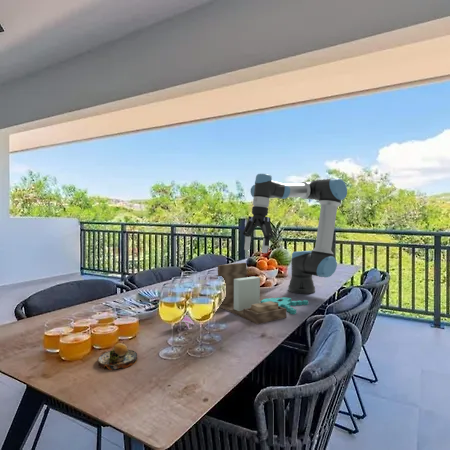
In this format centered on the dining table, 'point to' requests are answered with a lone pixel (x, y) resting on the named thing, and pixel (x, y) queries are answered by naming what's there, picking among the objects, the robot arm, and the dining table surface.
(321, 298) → the dining table surface
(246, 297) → the sage sheet
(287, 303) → the teal pixel art cutout
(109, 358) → the small appetizer plate
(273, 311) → the rack
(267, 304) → the upper offcut
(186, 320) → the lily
